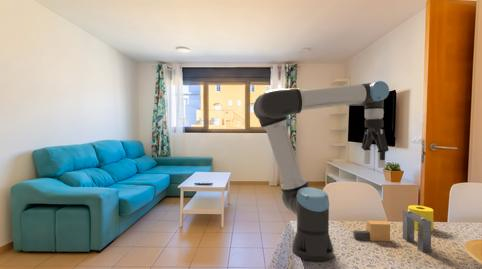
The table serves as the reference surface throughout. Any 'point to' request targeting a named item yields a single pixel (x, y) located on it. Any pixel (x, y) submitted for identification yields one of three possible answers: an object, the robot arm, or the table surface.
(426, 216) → the tape roll
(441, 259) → the table surface
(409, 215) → the gray arch block
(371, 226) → the plug
